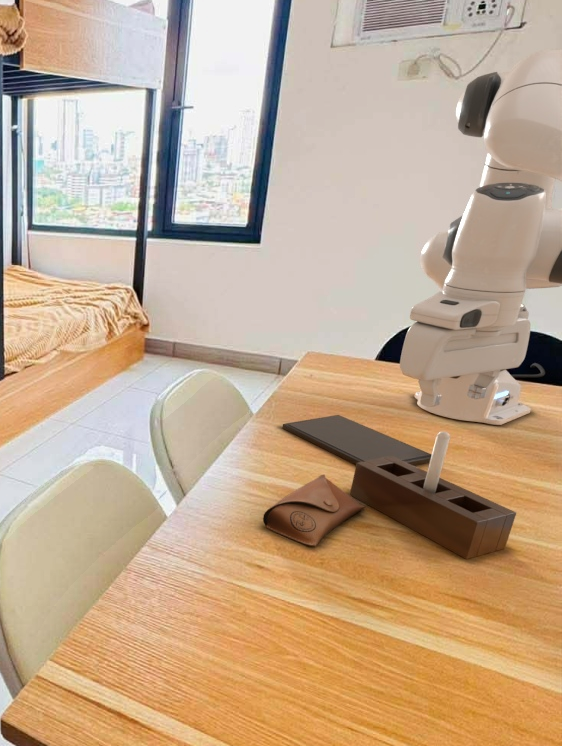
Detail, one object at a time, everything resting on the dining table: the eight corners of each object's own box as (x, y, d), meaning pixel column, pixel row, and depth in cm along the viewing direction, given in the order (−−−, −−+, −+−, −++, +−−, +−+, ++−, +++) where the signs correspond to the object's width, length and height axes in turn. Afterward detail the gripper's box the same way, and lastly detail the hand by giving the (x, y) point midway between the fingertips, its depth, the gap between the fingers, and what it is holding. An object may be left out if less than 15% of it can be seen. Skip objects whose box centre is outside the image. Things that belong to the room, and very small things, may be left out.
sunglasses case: (318, 547, 90) (300, 503, 91) (273, 550, 96) (257, 508, 96) (368, 506, 101) (352, 467, 101) (325, 511, 106) (310, 473, 107)
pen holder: (384, 487, 108) (392, 455, 105) (505, 548, 90) (517, 512, 88) (349, 494, 105) (356, 462, 103) (466, 559, 88) (477, 522, 86)
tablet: (337, 418, 136) (338, 414, 136) (435, 461, 116) (436, 455, 116) (281, 428, 132) (282, 423, 131) (374, 473, 112) (375, 468, 112)
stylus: (420, 516, 99) (443, 429, 94) (429, 521, 97) (454, 433, 92) (412, 518, 98) (435, 430, 93) (422, 523, 97) (446, 434, 92)
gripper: (506, 298, 92) (481, 386, 97) (402, 308, 86) (381, 402, 91) (555, 306, 86) (526, 400, 91) (447, 318, 80) (422, 417, 85)
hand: (452, 401), depth 91 cm, fingers open, 8 cm apart
